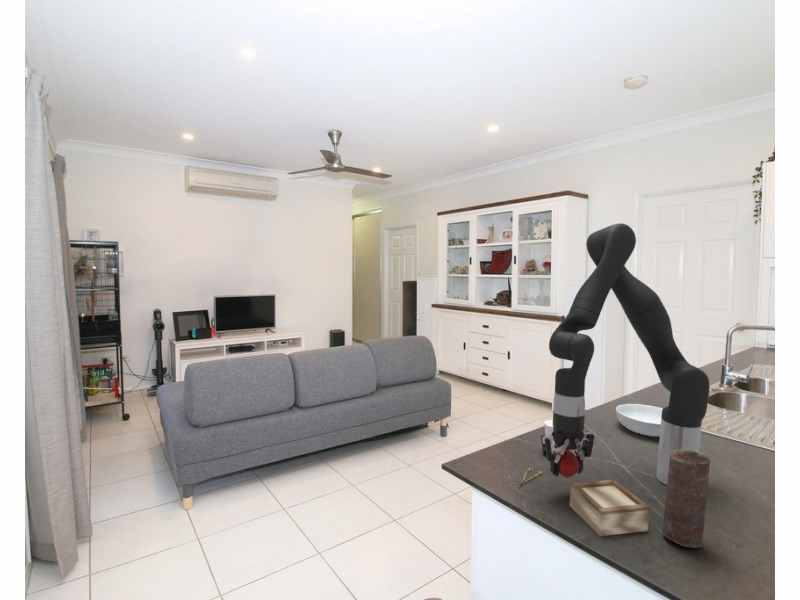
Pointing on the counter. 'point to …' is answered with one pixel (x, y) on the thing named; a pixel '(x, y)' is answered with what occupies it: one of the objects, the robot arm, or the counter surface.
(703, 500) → the rusty metal cylinder
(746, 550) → the counter surface
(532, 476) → the tongs
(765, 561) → the counter surface
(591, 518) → the pedestal
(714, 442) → the counter surface
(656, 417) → the serving bowl
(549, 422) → the smoothie
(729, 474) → the counter surface
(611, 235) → the robot arm
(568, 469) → the pomegranate
